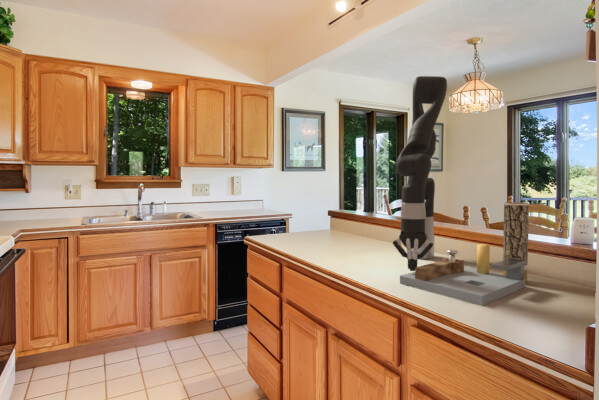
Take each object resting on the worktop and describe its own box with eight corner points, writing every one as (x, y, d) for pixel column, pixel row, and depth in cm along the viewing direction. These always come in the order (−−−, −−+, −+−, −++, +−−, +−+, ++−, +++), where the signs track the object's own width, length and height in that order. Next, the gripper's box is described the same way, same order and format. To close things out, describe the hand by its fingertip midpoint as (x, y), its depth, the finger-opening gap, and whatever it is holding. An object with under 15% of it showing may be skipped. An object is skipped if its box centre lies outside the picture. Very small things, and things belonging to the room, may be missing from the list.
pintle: (449, 276, 124) (450, 249, 123) (458, 278, 121) (459, 250, 121) (444, 278, 122) (445, 250, 121) (453, 280, 119) (454, 251, 119)
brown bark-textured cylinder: (518, 284, 114) (520, 204, 112) (497, 279, 120) (499, 202, 118) (531, 281, 117) (533, 203, 115) (510, 276, 123) (512, 202, 121)
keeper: (509, 284, 114) (510, 258, 113) (523, 287, 111) (524, 260, 110) (490, 292, 107) (491, 264, 106) (504, 295, 103) (505, 266, 103)
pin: (480, 270, 121) (480, 243, 121) (491, 272, 118) (491, 245, 118) (474, 272, 119) (475, 244, 119) (485, 274, 116) (486, 246, 116)
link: (448, 267, 126) (448, 257, 126) (465, 271, 121) (466, 260, 121) (411, 277, 113) (411, 266, 113) (429, 282, 108) (429, 270, 108)
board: (445, 270, 132) (445, 263, 132) (524, 287, 111) (525, 278, 111) (399, 283, 116) (399, 275, 116) (482, 305, 96) (482, 296, 95)
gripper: (390, 217, 117) (389, 271, 118) (434, 218, 111) (433, 275, 112) (393, 215, 123) (393, 266, 124) (435, 216, 118) (435, 269, 119)
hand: (412, 270), depth 118 cm, fingers closed
